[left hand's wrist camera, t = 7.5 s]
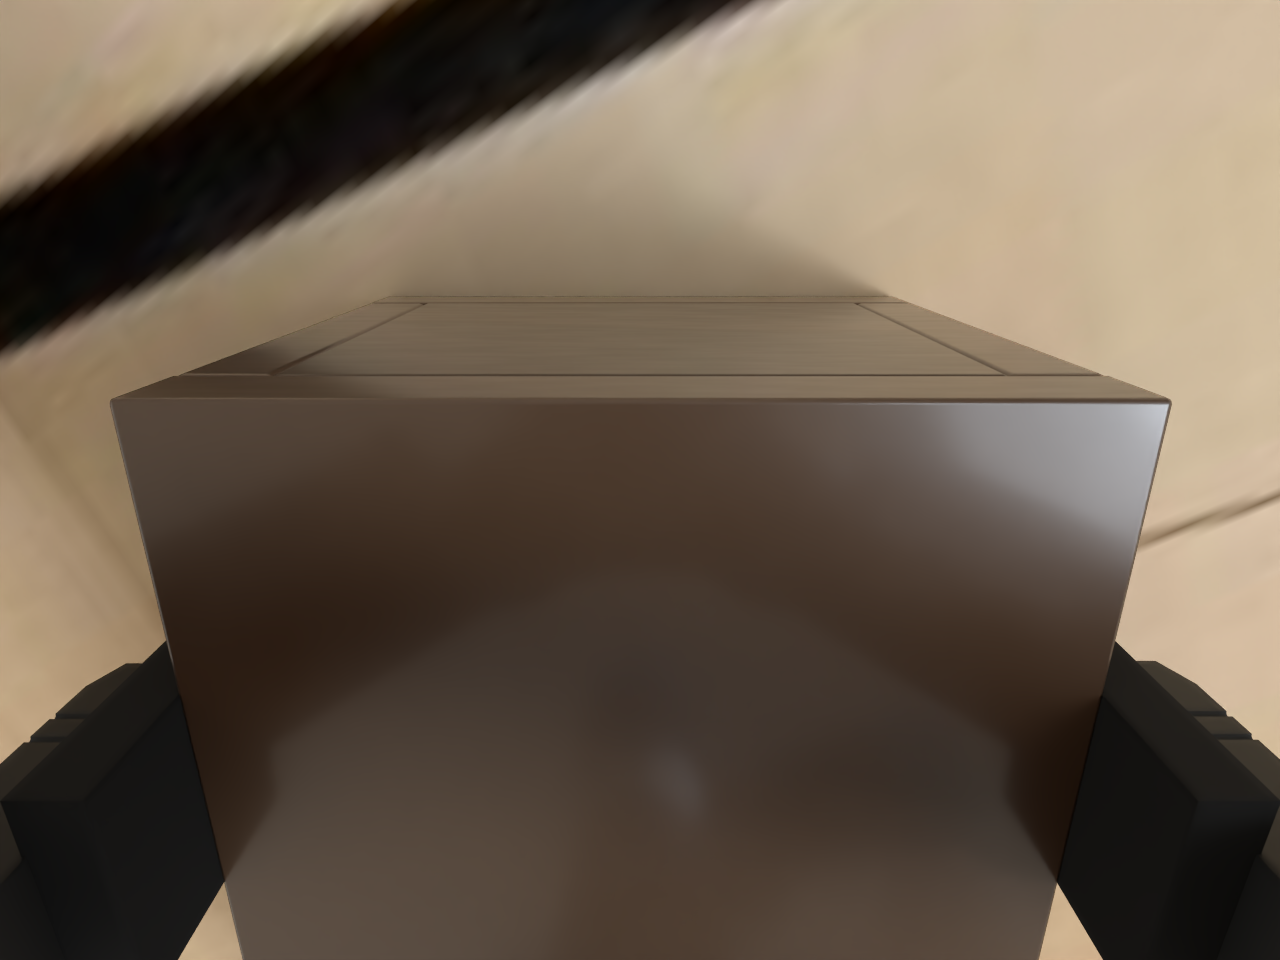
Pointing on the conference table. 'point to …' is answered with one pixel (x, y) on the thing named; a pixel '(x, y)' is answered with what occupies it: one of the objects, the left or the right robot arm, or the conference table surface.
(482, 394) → the cabinet
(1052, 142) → the conference table surface
